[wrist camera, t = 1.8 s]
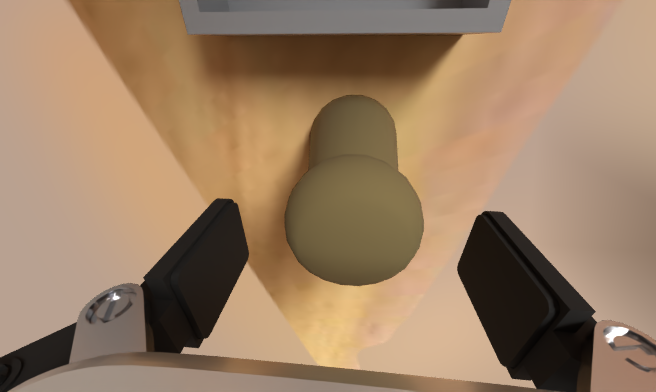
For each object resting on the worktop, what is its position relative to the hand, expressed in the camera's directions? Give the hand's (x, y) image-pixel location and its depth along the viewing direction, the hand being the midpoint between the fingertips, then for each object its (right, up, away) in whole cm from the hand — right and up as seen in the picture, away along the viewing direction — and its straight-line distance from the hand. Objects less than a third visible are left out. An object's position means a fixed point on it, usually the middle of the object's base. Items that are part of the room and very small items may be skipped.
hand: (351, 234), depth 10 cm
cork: (+1, +6, +8) cm, 9 cm away
